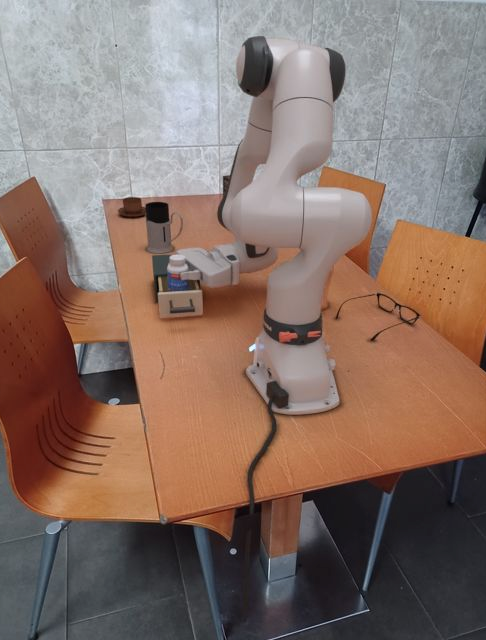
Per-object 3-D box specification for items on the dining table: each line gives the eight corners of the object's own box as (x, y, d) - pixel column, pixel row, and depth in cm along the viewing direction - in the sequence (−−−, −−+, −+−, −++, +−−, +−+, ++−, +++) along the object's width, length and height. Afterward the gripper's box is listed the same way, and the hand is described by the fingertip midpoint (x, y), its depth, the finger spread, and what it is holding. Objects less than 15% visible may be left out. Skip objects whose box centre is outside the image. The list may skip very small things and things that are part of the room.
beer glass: (328, 311, 133) (334, 258, 125) (302, 309, 134) (307, 256, 126) (330, 300, 139) (336, 249, 131) (305, 298, 140) (309, 246, 132)
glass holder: (157, 242, 176) (154, 199, 168) (191, 250, 171) (189, 206, 163) (141, 250, 170) (137, 205, 162) (176, 258, 164) (173, 212, 156)
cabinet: (200, 299, 138) (199, 272, 134) (155, 302, 136) (153, 274, 131) (195, 279, 150) (194, 253, 145) (154, 281, 148) (151, 255, 143)
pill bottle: (169, 297, 127) (167, 261, 122) (167, 289, 132) (164, 254, 127) (191, 295, 129) (189, 259, 124) (187, 287, 133) (185, 252, 128)
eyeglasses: (421, 328, 126) (424, 314, 124) (375, 344, 119) (378, 329, 117) (375, 303, 138) (377, 290, 136) (330, 316, 131) (332, 302, 129)
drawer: (205, 326, 123) (205, 302, 120) (160, 329, 121) (158, 305, 118) (197, 293, 139) (196, 271, 136) (157, 295, 137) (155, 273, 134)
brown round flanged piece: (117, 211, 207) (115, 196, 204) (146, 209, 211) (145, 194, 207) (119, 220, 198) (118, 204, 194) (150, 218, 201) (149, 202, 198)
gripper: (204, 239, 139) (157, 247, 133) (241, 263, 124) (191, 273, 118) (205, 260, 142) (159, 269, 136) (241, 286, 127) (192, 298, 121)
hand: (174, 271), depth 127 cm, fingers closed on pill bottle, 5 cm apart
